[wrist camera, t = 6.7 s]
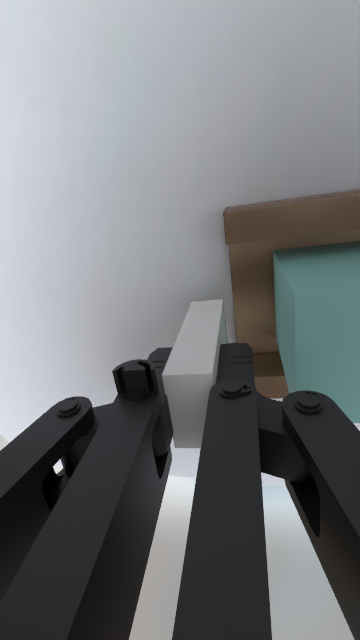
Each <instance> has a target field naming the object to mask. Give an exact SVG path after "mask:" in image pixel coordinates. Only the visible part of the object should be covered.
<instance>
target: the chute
mask: <svg viewBox="0 0 360 640" xmlns="http://www.w3.org/2000/svg"><path fill="white" fill-rule="evenodd" d="M223 215H224V226H225V238H226V245H229V255H230V267H231V279H232V290H233V302H234V314H235V325H236V337H237V343H247V344H248V345H249V346H250V347H251V348H252V350H253V364H254V378H255V387H256V390H257V391H258V392H259V393H260V394H261V395H263V396H264V397H267V398H284V397H285V396H287V395H288V394H289V390H288V386H287V382H286V378H285V373H284V369H283V365H282V361H281V356H280V352H279V348H278V344H277V340H276V318H275V292H274V266H273V250H281V249H291V248H300V247H310V246H319V245H328V244H338V243H347V242H357V241H360V190H353V191H346V192H339V193H331V194H324V195H316V196H309V197H302V198H294V199H287V200H279V201H272V202H265V203H257V204H250V205H242V206H235V207H227V208H226V209H225V211H224V213H223Z"/></svg>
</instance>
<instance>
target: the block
mask: <svg viewBox="0 0 360 640" xmlns="http://www.w3.org/2000/svg"><path fill="white" fill-rule="evenodd" d="M273 266H274V292H275V318H276V340H277V344H278V348H279V352H280V356H281V361H282V365H283V369H284V373H285V378H286V382H287V386H288V390H289V394H290V393H292V392H296V391H303V390H309V391H315V392H319V393H322V394H324V395H327V396H328V397H329V398H331V399H332V400H333V401H334V402H335V403H336V404H337V405H338V406H339V408H340V409H341V410H342V411H343V412H344V413H345V415H346V416H347V417H348V418H349V419H350V420H351V422H352V423H360V241H357V242H347V243H338V244H328V245H319V246H310V247H300V248H291V249H281V250H273Z"/></svg>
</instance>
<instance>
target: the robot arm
mask: <svg viewBox="0 0 360 640" xmlns="http://www.w3.org/2000/svg"><path fill="white" fill-rule="evenodd" d="M112 372H113V376H114V380H115V384H116V388H117V392H118V395H117V397H116V398H115V400H114V402H113V403H111V404H108V405H103V406H99V407H94V408H93V407H92V404H91V401H90V400H89V399H88V398H85V397H72V398H71V397H70V398H67V399H65V400H63V401H60V402H58V403H57V404H55V405H54V406H52V407H51V408H50V409H49V410H48V411H47V412H45V413H44V414H43V415H42V416H41V417H40V418H38V419H37V420H36V421H35V422H34V423H33V424H31V425H30V426H29V427H28V428H27V429H25V430H24V431H23V432H22V433H21V434H20V435H18V436H17V437H16V438H15V439H14V440H13V441H11V442H10V443H9V444H8V445H7V446H6V447H4V448H3V449H2V450H1V451H0V640H129V636H130V632H131V628H132V624H133V619H134V615H135V611H136V606H137V603H138V598H139V595H140V590H141V586H142V582H143V578H144V574H145V570H146V565H147V561H148V557H149V553H150V549H151V545H152V541H153V536H154V532H155V528H156V523H157V520H158V516H159V511H160V507H161V503H162V499H163V494H164V490H165V486H166V482H167V478H168V474H169V470H170V466H171V461H172V453H171V448H170V443H171V440H172V436H173V439H174V445H175V448H201V451H200V457H199V464H198V471H197V477H196V484H195V491H194V498H193V505H192V511H191V517H190V524H189V531H188V538H187V544H186V550H185V557H184V564H183V570H182V577H181V584H180V590H179V597H178V603H177V610H176V617H175V623H174V630H173V637H172V640H272V633H271V617H270V602H269V588H268V573H267V557H266V542H265V526H264V511H263V497H262V481H261V472H263V473H266V474H269V475H273V476H276V477H279V478H283V479H285V484H286V487H287V489H288V491H289V493H290V496H291V498H292V500H293V502H294V504H295V507H296V509H297V511H298V514H299V516H300V518H301V520H302V523H303V525H304V527H305V529H306V531H307V534H308V536H309V538H310V540H311V543H312V545H313V547H314V549H315V552H316V554H317V556H318V558H319V561H320V563H321V565H322V567H323V570H324V572H325V574H326V576H327V578H328V581H329V583H330V585H331V588H332V590H333V592H334V594H335V597H336V599H337V601H338V603H339V605H340V607H341V610H342V612H343V614H344V617H345V619H346V621H347V623H348V626H349V628H350V630H351V632H352V635H353V637H354V639H355V640H360V431H359V430H358V429H357V427H356V426H355V425H354V424H353V423H352V422H351V420H350V419H349V418H348V417H347V416H346V415H345V413H344V412H343V411H342V410H341V409H340V408H339V406H338V405H337V404H336V403H335V402H334V401H333V400H332V399H331V398H329V397H328V396H327V395H324V394H322V393H319V392H315V391H309V390H303V391H296V392H292V393H290V394H288V395H287V396H285V397H284V399H283V401H282V402H281V401H276V400H272V399H269V398H267V397H264V396H263V395H261V394H260V393H259V392H258V391H257V390H256V387H255V378H254V364H253V350H252V348H251V347H250V346H249V345H248V344H247V343H231V344H227V334H226V323H225V313H224V303H223V299H215V300H203V301H191V304H190V306H189V309H188V311H187V314H186V316H185V319H184V321H183V324H182V326H181V329H180V331H179V334H178V336H177V339H176V341H175V344H174V346H173V347H171V348H158V349H156V350H155V351H154V352H152V353H151V354H150V355H149V357H148V359H147V360H141V359H139V360H131V361H128V362H125V363H123V364H121V365H119V366H117V367H116V368H115V369H114V370H113V371H112ZM59 459H61V462H62V465H63V467H64V468H63V469H62V470H61V471H60V472H59V473H57V474H56V473H55V471H54V468H53V466H54V465H55V464H56V463H57V462H58V460H59Z"/></svg>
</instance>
